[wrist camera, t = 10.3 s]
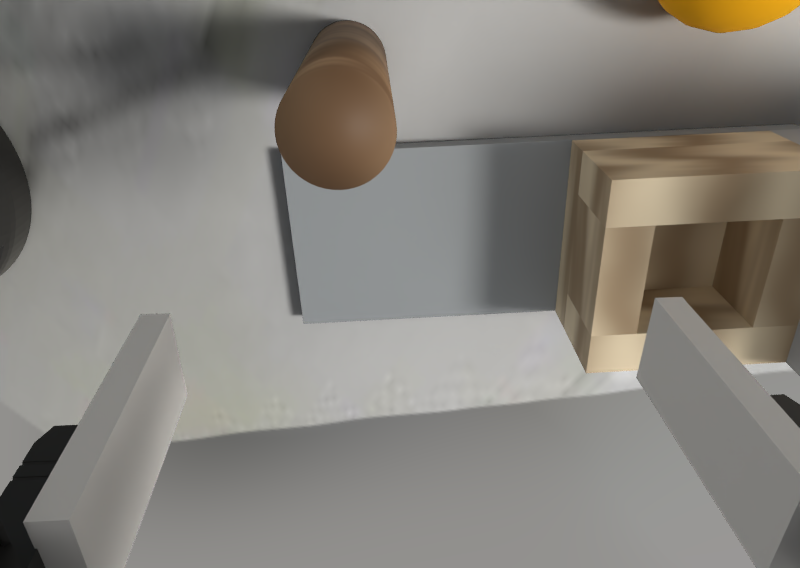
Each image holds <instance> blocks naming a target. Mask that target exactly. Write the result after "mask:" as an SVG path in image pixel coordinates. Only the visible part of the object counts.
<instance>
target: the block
mask: <svg viewBox="0 0 800 568" xmlns="http://www.w3.org/2000/svg"><path fill="white" fill-rule="evenodd" d="M665 297H683V298H684V300H685V301H686V302H687V303H688V304H689V305H690V306H691V307H692V309H693V310H694V311H695V312H696V313H697V314H698V315H699V316H700V317H701V319H702V320H703V321H704V322H705V323H706V324H707V325H708V326H709V328H710V329H711V330H712V331H713V332H714V333H715V334H716V335H717V336H718V338H719V339H720V340H721V341H722V342H723V343H724V344H725V345H726V347H727V348H728V349H729V350H730V351H731V352H732V353H733V354H734V355H735V357H736V358H737V359H738V360H739V361H740V362H741V363H742V364H760V363H779V362H786V360H787V357H788V354H789V351H790V348H791V345H792V342H793V339H794V336H795V332H796V329H797V326H798V323H799V320H800V145H799V144H797V143H795V142H793V141H790V140H788V139H786V138H784V137H782V136H780V135H778V134H776V133H774V132H772V131H752V132H732V133H711V134H691V135H670V136H650V137H629V138H609V139H588V140H572V146H571V156H570V166H569V177H568V187H567V197H566V207H565V217H564V228H563V238H562V248H561V258H560V268H559V279H558V289H557V299H556V309H555V311H556V313H557V315H558V317H559V319H560V321H561V323H562V325H563V327H564V329H565V331H566V333H567V335H568V337H569V339H570V341H571V343H572V345H573V347H574V349H575V352H576V354H577V356H578V358H579V360H580V362H581V364H582V366H583V368H584V370H585V372H586V373H597V372H615V371H633V370H638V368H639V364H640V360H641V356H642V351H643V347H644V343H645V339H646V334H647V330H648V326H649V322H650V317H651V313H652V309H653V305H654V300H655V298H665Z"/></svg>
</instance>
